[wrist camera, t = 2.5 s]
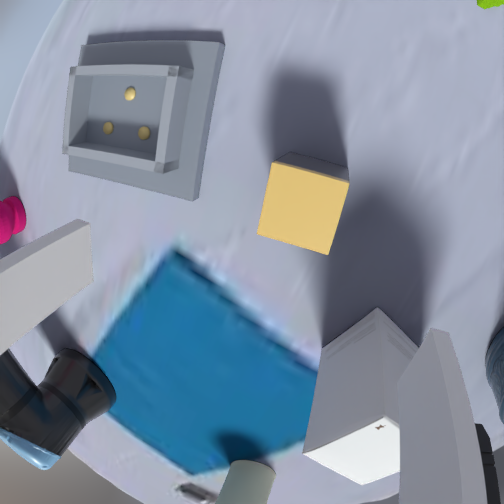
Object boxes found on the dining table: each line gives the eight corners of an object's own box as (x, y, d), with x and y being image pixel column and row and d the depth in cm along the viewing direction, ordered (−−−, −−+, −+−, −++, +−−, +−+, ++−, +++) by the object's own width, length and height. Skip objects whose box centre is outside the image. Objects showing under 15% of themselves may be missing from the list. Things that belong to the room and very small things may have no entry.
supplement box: (318, 348, 36) (297, 453, 23) (377, 304, 32) (385, 414, 19) (366, 387, 37) (359, 487, 24) (422, 350, 33) (440, 455, 20)
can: (285, 476, 51) (270, 527, 40) (254, 483, 55) (237, 528, 44) (251, 455, 50) (231, 509, 39) (221, 464, 54) (200, 510, 44)
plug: (332, 222, 30) (328, 255, 23) (277, 206, 31) (256, 234, 24) (347, 167, 28) (349, 183, 21) (290, 151, 29) (272, 162, 22)
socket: (198, 197, 33) (178, 209, 29) (76, 168, 36) (51, 176, 32) (225, 45, 26) (206, 35, 22) (89, 46, 29) (63, 43, 25)
